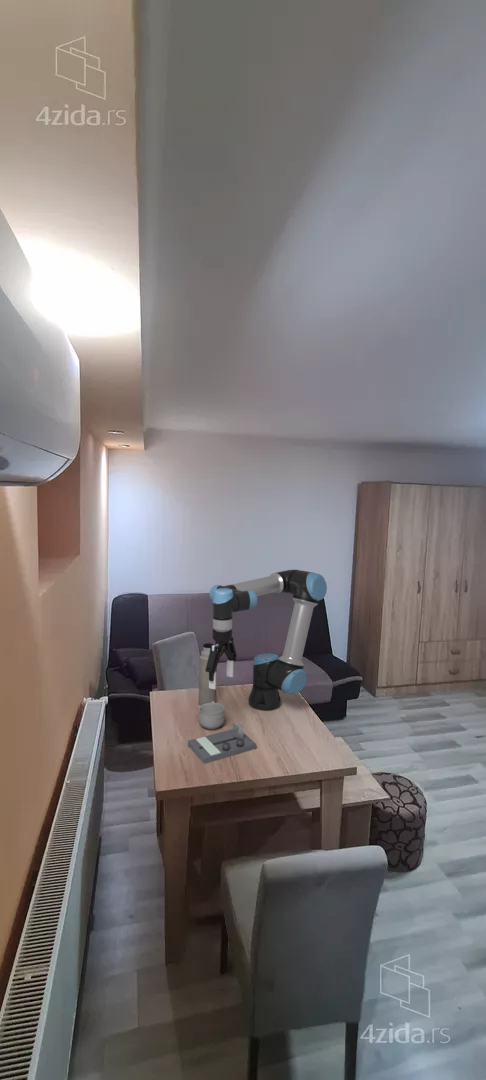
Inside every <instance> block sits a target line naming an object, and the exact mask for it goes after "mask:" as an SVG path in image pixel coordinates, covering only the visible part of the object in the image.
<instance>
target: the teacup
mask: <svg viewBox="0 0 486 1080" xmlns="http://www.w3.org/2000/svg"><path fill="white" fill-rule="evenodd" d="M225 708H226V707H225V706H224V705H223V704H222V703H218V702H216V703H215V701H212V702H211V703H206V704H203V705H201V706H200V705H199V707H198V720H199V723H200V725H201V726H202V727H203V728H204V729H206V730H212V731H213V730H216V729H218V728H220V727H221V726H222V725H223V724H224V722H225Z"/></svg>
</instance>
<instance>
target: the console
mask: <svg viewBox="0 0 486 1080" xmlns="http://www.w3.org/2000/svg"><path fill="white" fill-rule="evenodd" d="M187 747H189V748H190V750H191V751H192V752H193V753H194V754H195V756H196V757H198V759H199V760H200V761H201V762H202V763H203V765H205V764H208V763H212V762H215V761H219V760H222V759H226V758H229V757H232V756H236V755H239V754H243V753H246V751H247V752H250V751H253V750H257V743H256V742H255V741H254V740H252V739H251V738H250V737H249V736H248V735H246V734H245V733H244V739H236V738H235V737H234V736H233V728H232V729H228V730H225V731H220V732H217V733H212V734H208V735H204V736H201V737H197V738H193V739H190V740H189V739H188V740H187Z"/></svg>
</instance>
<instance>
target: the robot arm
mask: <svg viewBox="0 0 486 1080" xmlns="http://www.w3.org/2000/svg"><path fill="white" fill-rule="evenodd" d="M327 587H328V586H327V582H326V578H324V576H323V575H322V574H320V573H316V572H315V571H314V572H312V571H305V570H299V569H288V570H287V569H286V570H282V571H277V572H273V573H271V574H270V576H265V577H260V578H255V579H251V580H247V581H246V580H245V581H242V582H238V583H233V584H226V585H220V584H216V585H213V586H212V587H211V588H210V590H209V599H210V600H211V602H212V639H213V640H214V642H215V644H214V645H211V646H210V654H209V658H208V662H207V666H206V670H205V671H206V672H209V688H211V689H216V690H217V676H216V672H215V670H216V668H218V667H217V666H219V665H218V664H219V662H220V659H221V657H222V656H223V654H225V656H226V658H227V660H226V677H228V678H229V677H230V678H234V662H235V661H237V656H238V655H237V651H236V648H235V647H236V646H235V644H234V637H233V613H237V612H244V611H249V610H253V609H255V608H256V607H257V604H258V597H259V596H264V595H268V594H271V593H272V594H273V593H274V594H291V595H292V600H293V601H294V605H293V609H292V614H291V619H290V622H289V626H288V631H287V635H286V640H285V645H284V649H283V652H282V655H281V656H279V655H278V654H275V653H262V654H261V653H260V654H257V655H255V656H254V658H253V664H252V666H253V667H252V687H251V690H250V693H249V696H248V705H249V706H250V708H253V709H256V710H260V711H275V710H277V709H279V708H281V705H282V704H281V703H282V700H281V695H280V692H279V691H282V692H283V693H284V694H288V695H291V696H293V695H296V694H299V693H300V692H301V691H302V690H304V687H305V685H306V684H307V677H308V676H307V672H306V671H305V670H304V666H305V664H304V663H303V655H304V651H305V647H306V642H307V639H308V634H309V633H308V632H309V629H310V625H311V620H312V616H313V612H314V608H315V607H316V606H318V605H319V601H321V600H323V599H324V598H325V597H326V594H327V589H328V588H327Z"/></svg>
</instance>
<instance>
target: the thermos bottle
mask: <svg viewBox="0 0 486 1080" xmlns="http://www.w3.org/2000/svg"><path fill="white" fill-rule="evenodd" d="M211 645H215V644H213V643H210V642H206V643H203V645H202V648H203V650H201V653H200V656H199V669H198V670H199V671H198V672H199V673H198V674H199V676H198V705H199V707H200V706H201V705H203V704H206V703H211V702H212V701H215V703H217V702H216V701H217V700H216V699H217V688H216V689H211V688H209V672H206V671H205V670H206V666H207V662H208V658H209V654H210V646H211ZM217 668H218V667H217ZM217 668H216V670H215V672H216V677H217V674H218V673H217V672H218V671H217V670H218V669H217Z"/></svg>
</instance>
